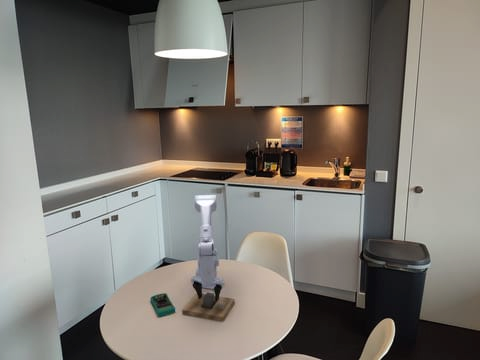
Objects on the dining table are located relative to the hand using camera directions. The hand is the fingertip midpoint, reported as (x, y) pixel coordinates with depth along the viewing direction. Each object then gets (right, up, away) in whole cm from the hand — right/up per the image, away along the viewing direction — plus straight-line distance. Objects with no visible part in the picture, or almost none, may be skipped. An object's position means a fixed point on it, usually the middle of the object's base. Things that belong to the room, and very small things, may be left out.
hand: (208, 299), depth 151 cm
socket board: (0, -4, +1) cm, 4 cm away
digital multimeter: (-20, -5, +3) cm, 21 cm away
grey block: (0, -4, +1) cm, 4 cm away
